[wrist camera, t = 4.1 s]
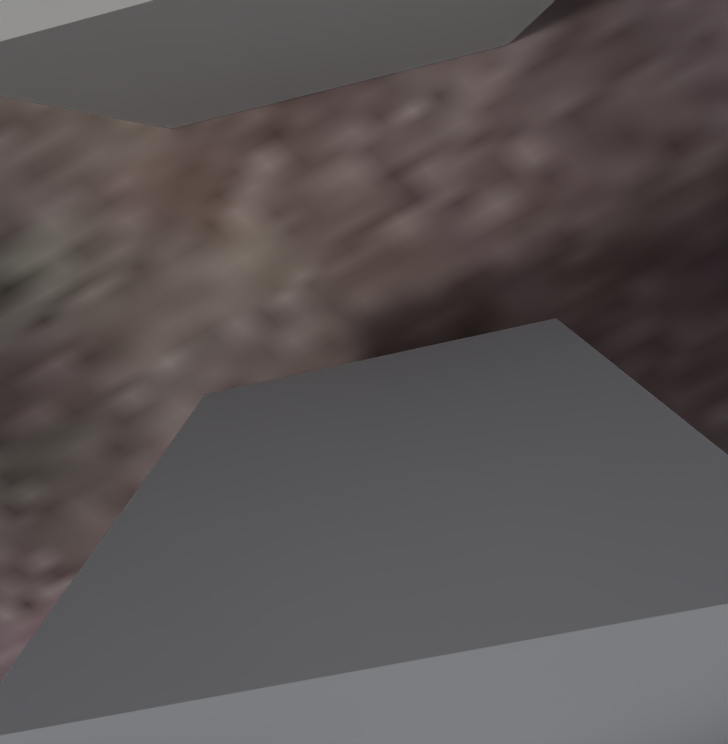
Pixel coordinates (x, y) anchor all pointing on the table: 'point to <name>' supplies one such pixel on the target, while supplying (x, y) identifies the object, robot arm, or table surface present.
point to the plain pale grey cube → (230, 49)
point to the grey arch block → (404, 566)
